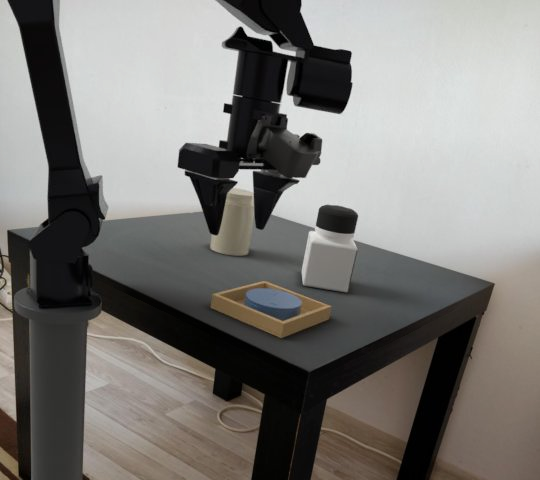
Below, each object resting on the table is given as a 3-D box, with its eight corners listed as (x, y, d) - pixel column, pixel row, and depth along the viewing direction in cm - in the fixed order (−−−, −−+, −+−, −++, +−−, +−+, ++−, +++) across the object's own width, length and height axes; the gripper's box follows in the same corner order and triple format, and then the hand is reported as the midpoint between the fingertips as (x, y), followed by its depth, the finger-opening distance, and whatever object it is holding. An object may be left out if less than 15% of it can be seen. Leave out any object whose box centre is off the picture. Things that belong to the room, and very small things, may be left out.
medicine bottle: (348, 293, 89) (365, 215, 84) (302, 286, 89) (317, 207, 84) (343, 279, 96) (359, 206, 91) (301, 273, 96) (315, 199, 91)
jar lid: (285, 327, 71) (288, 313, 70) (233, 310, 73) (235, 296, 73) (307, 312, 77) (310, 299, 77) (258, 297, 80) (261, 284, 79)
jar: (222, 256, 97) (230, 194, 93) (203, 244, 102) (209, 185, 98) (256, 255, 101) (265, 196, 97) (236, 244, 106) (243, 187, 102)
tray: (281, 338, 69) (283, 323, 68) (210, 307, 74) (212, 293, 73) (328, 319, 77) (331, 306, 77) (262, 293, 83) (264, 280, 82)
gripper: (263, 102, 57) (240, 258, 63) (354, 117, 71) (328, 242, 77) (181, 86, 62) (167, 230, 69) (281, 102, 76) (262, 221, 83)
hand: (237, 231), depth 74 cm, fingers open, 9 cm apart
